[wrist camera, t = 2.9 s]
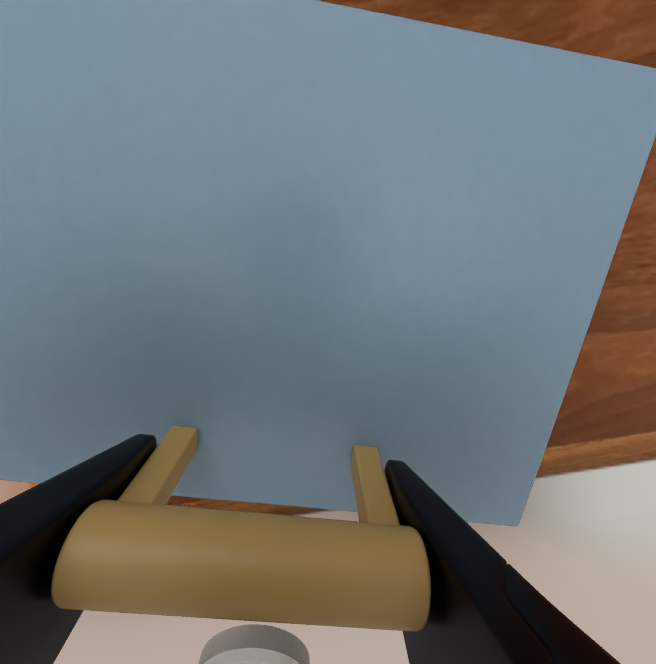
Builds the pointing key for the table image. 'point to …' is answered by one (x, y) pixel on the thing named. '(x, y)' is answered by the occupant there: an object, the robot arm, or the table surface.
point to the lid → (294, 285)
